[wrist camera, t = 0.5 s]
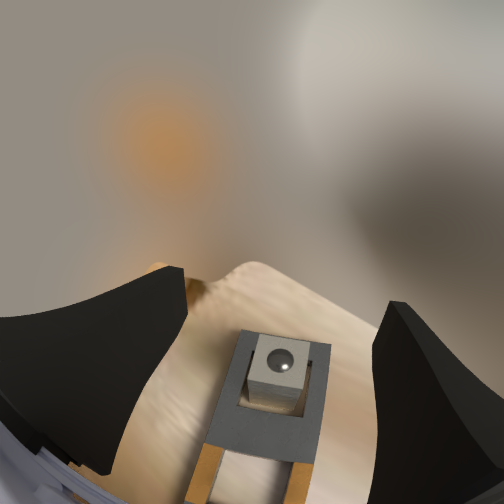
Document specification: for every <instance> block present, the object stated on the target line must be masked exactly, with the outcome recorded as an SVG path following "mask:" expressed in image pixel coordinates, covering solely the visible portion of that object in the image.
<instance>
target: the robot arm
mask: <svg viewBox="0 0 504 504" xmlns="http://www.w3.org/2000/svg"><path fill="white" fill-rule="evenodd" d="M187 315H188V310H187V301H186V291H185V281H184V269H183V268H178V267H173V266H166V267H163V268H161V269H158V270H156V271H153V272H151V273H149V274H146V275H144V276H142V277H140V278H138V279H135V280H133V281H131V282H129V283H127V284H124V285H122V286H120V287H117V288H115V289H113V290H110V291H108V292H105V293H103V294H101V295H98V296H96V297H93V298H91V299H88V300H85V301H82V302H79V303H76V304H73V305H70V306H66V307H63V308H59V309H54V310H50V311H46V312H42V313H36V314H31V315H23V316H15V317H0V504H84V503H82V502H80V501H78V500H77V499H75V498H74V493H75V494H77V495H78V496H80V497H81V498H83V499H84V500H86V501H87V502H89V503H90V504H129V503H127V502H125V501H123V500H121V499H119V498H117V497H115V496H114V495H112V494H110V493H108V492H107V491H105V490H103V489H102V488H100V487H98V486H97V485H95V484H93V483H92V482H90V481H89V480H87V479H86V478H84V477H83V476H81V475H80V474H78V473H77V472H75V471H74V470H73V469H71V468H70V467H68V466H67V465H68V464H69V462H70V461H71V462H73V463H74V464H75V465H77V466H78V467H80V466H81V465H82V464H83V465H85V466H86V467H88V468H90V469H91V470H93V471H94V472H96V473H98V474H99V475H101V476H104V475H109V474H111V470H112V466H113V462H114V459H115V456H116V452H117V449H118V446H119V443H120V441H121V438H122V435H123V433H124V430H125V427H126V425H127V423H128V420H129V418H130V416H131V413H132V411H133V409H134V407H135V405H136V402H137V400H138V398H139V396H140V394H141V392H142V390H143V388H144V386H145V385H146V383H147V381H148V380H149V378H150V377H151V375H152V374H153V372H154V371H155V369H156V368H157V366H158V365H159V363H160V362H161V360H162V359H163V357H164V356H165V354H166V353H167V351H168V350H169V348H170V346H171V345H172V343H173V342H174V340H175V339H176V337H177V336H178V334H179V332H180V330H181V328H182V326H183V323H184V321H185V319H186V317H187ZM372 372H373V381H374V391H375V400H376V411H377V427H378V436H377V449H376V459H375V466H374V473H373V480H372V485H371V489H370V494H369V498H368V502H367V504H504V399H503V398H501V397H500V396H499V395H497V394H496V393H495V392H494V391H492V390H491V389H490V388H489V387H487V386H486V385H485V384H483V382H481V381H480V380H479V379H478V378H477V377H476V376H475V375H474V374H473V373H472V372H471V371H470V370H469V369H467V368H466V367H465V366H464V365H463V364H462V363H461V362H460V360H458V358H457V357H456V356H455V355H454V354H452V352H451V351H450V350H449V349H448V348H447V347H446V346H445V345H444V343H443V342H442V341H441V340H440V339H439V338H438V337H437V336H436V335H435V333H434V332H433V331H432V330H431V329H430V328H429V327H428V326H427V324H426V323H425V322H424V321H423V320H422V319H421V318H420V316H419V315H418V314H417V313H416V312H415V311H414V310H413V309H412V308H411V307H410V306H409V305H408V304H407V303H405V302H397V301H390V302H389V304H388V307H387V310H386V312H385V315H384V318H383V320H382V323H381V325H380V328H379V330H378V332H377V335H376V337H375V340H374V342H373V344H372ZM73 492H74V493H73Z"/></svg>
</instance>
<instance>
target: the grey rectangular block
mask: <svg viewBox="0 0 504 504" xmlns="http://www.w3.org/2000/svg"><path fill="white" fill-rule="evenodd" d="M309 348H310V342H306V341H299V340H293V339H287V338H281V337H275V336H269V335H264V334H260V335H259V339H258V342H257V346H256V350H255V353H254V357H253V361H252V364H251V368H250V371H249V375H248V379H247V381H248V391H249V401H250V403H252V404H257V405H262V406H267V407H272V408H278V409H284V410H290V411H293V410H294V408H295V405H296V403H297V401H298V399H299V397H300V395H301V392H302V390H303V386H304V380H305V374H306V368H307V362H308V355H309Z"/></svg>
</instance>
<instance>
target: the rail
mask: <svg viewBox="0 0 504 504" xmlns="http://www.w3.org/2000/svg"><path fill="white" fill-rule="evenodd" d="M260 334H262V333H257V332H252V331H247V330H242V329H241V332H240V335H239V339H238V342H237V345H236V348H235V351H234V354H233V357H232V360H231V363H230V367H229V370H228V373H227V376H226V379H225V382H224V385H223V388H222V391H221V394H220V397H219V400H218V403H217V406H216V409H215V412H214V415H213V418H212V421H211V424H210V427H209V430H208V433H207V436H206V439H205V442H204V444H203V447H202V450H201V453H200V456H199V459H198V462H197V465H196V468H195V471H194V474H193V477H192V480H191V482H190V485H189V488H188V491H187V494H186V497H185V501H184V503H183V504H208V501H209V498H210V495H211V492H212V489H213V486H214V483H215V480H216V477H217V474H218V471H219V468H220V465H221V462H222V458H223V455H224V452H225V450H227V451H231V452H235V453H240V454H244V455H249V456H253V457H258V458H264V459H269V460H275V461H282V462H289V463H292V465H291V470H290V474H289V478H288V482H287V486H286V489H285V493H284V497H283V500H282V504H305V501H306V497H307V493H308V489H309V485H310V480H311V476H312V471H313V467H314V461H315V456H316V451H317V446H318V440H319V435H320V429H321V423H322V417H323V410H324V403H325V396H326V389H327V381H328V372H329V363H330V353H331V344H326V343H318V342H311V341H306V342H310V348H309V355H308V362H307V366H310V373H309V379H308V385H307V391H306V397H305V403H304V408H303V414H302V418H301V417H294V416H287V415H281V414H275V413H269V412H264V411H259V410H254V409H249V408H245V407H240V406H239V403H240V399H241V396H242V392H243V389H244V385H245V382H246V378H247V375H248V371H249V368H250V364H251V361H252V357H254V353H255V350H256V346H257V342H258V339H259V335H260ZM264 335H268V334H264ZM269 336H274V335H269ZM275 337H279V336H275ZM281 338H285V337H281ZM287 339H291V338H287ZM293 340H298V339H293ZM299 341H304V340H299Z"/></svg>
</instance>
